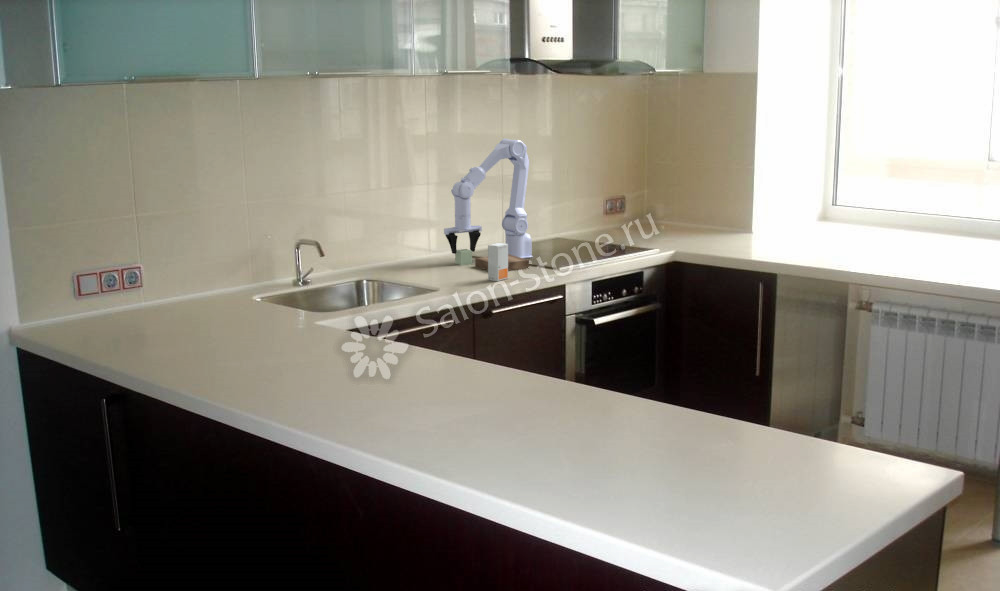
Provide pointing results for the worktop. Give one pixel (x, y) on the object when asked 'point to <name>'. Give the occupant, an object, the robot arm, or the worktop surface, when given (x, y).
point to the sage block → (463, 257)
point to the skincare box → (497, 261)
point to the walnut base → (513, 263)
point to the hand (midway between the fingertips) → (463, 252)
